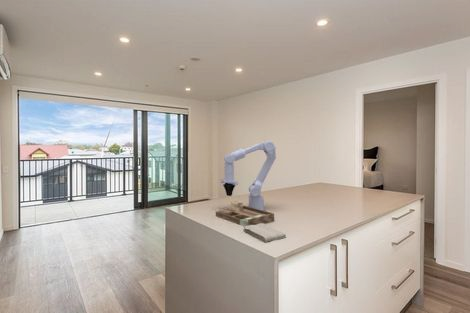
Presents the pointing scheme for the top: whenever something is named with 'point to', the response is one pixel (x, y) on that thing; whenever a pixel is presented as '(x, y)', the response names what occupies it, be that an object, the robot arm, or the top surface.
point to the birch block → (236, 205)
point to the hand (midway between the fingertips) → (229, 195)
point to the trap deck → (246, 216)
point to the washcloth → (264, 232)
